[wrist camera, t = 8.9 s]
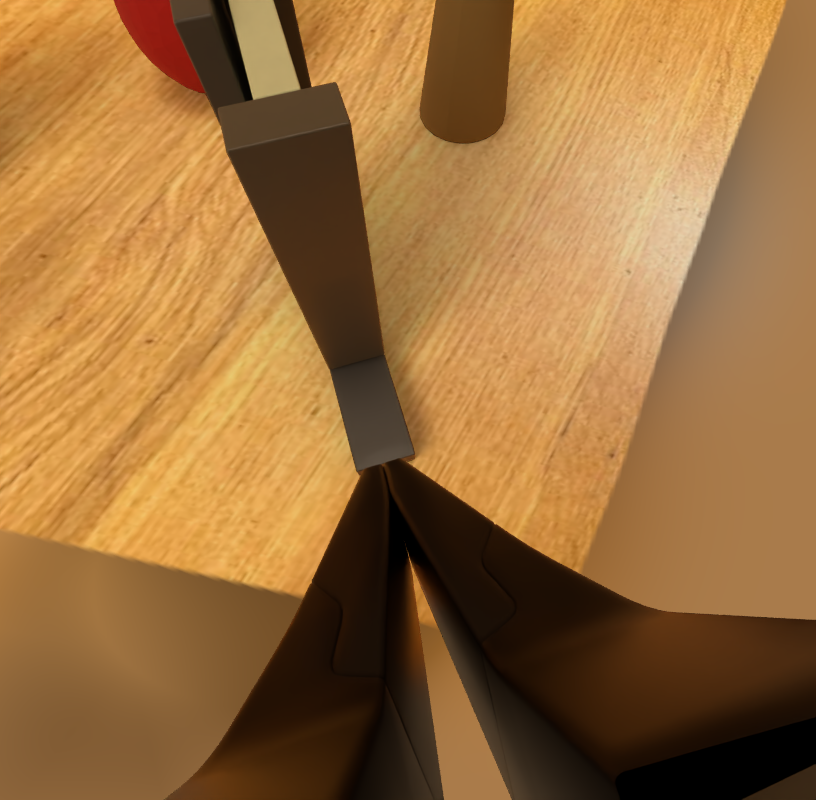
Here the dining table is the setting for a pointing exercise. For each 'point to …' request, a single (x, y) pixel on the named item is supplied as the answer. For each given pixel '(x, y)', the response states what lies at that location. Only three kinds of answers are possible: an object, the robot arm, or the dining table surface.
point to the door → (304, 187)
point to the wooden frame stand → (224, 85)
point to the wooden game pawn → (467, 69)
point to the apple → (159, 38)
